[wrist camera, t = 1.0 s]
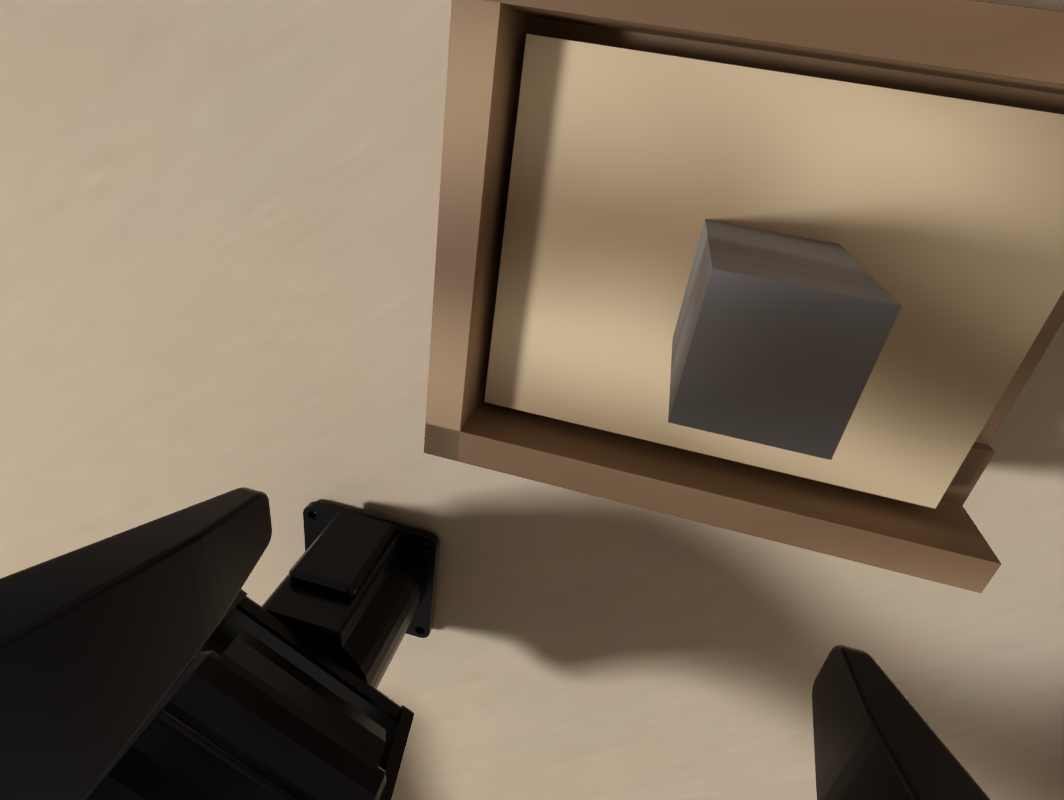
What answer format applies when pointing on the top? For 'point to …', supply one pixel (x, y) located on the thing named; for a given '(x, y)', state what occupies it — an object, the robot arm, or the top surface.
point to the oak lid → (772, 263)
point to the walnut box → (750, 41)
